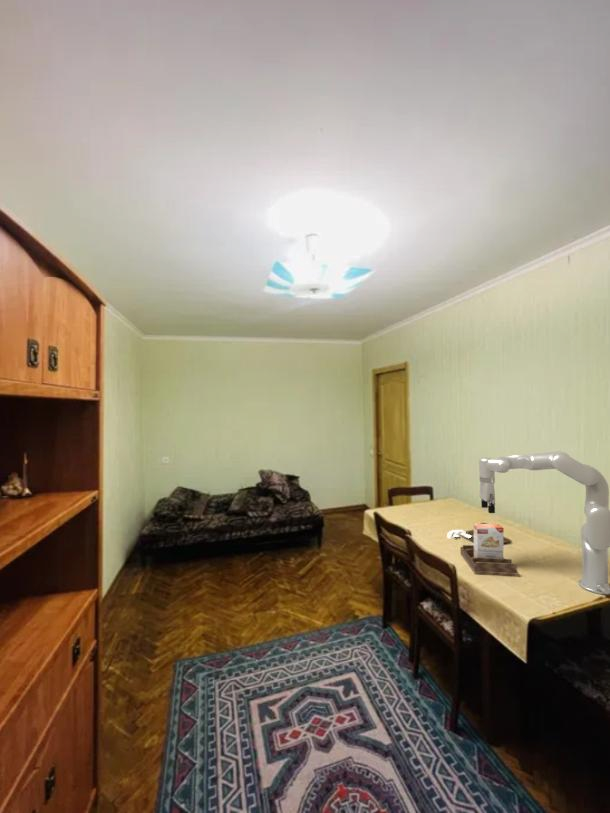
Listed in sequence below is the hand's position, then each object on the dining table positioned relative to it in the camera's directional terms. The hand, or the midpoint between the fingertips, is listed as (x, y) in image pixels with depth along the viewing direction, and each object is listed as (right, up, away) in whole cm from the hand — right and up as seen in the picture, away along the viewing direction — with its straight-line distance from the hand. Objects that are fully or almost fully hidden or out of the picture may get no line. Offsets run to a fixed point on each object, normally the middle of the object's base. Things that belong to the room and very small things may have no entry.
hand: (488, 510), depth 188 cm
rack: (0, -31, 0) cm, 31 cm away
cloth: (+3, -32, +42) cm, 52 cm away
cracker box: (0, -30, 0) cm, 30 cm away
